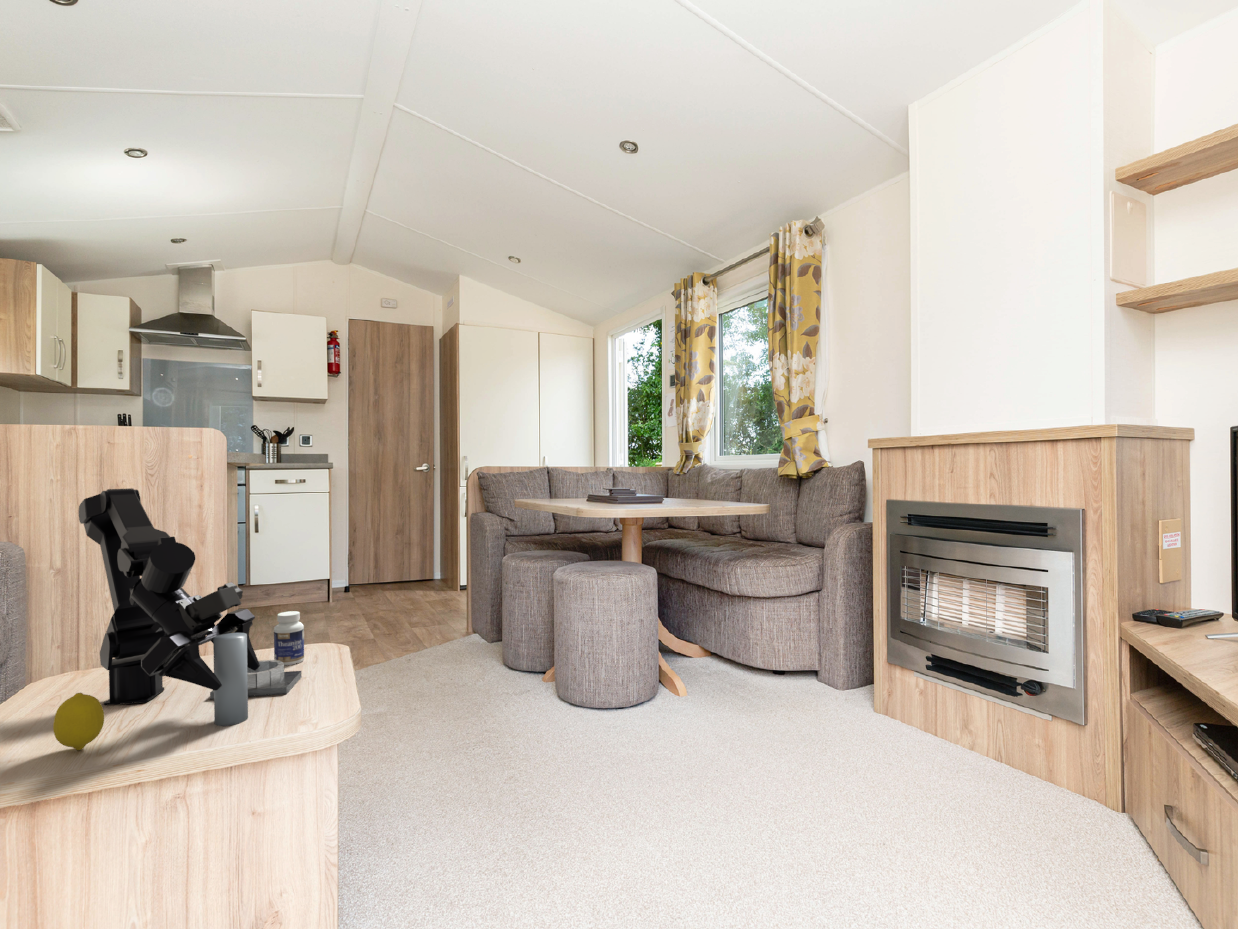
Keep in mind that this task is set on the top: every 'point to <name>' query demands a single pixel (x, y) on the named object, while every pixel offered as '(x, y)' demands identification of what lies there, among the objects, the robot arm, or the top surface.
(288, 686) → the duct plate
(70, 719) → the lemon
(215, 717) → the grey rounded cylinder
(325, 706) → the top surface
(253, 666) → the robot arm
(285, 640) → the pill bottle
